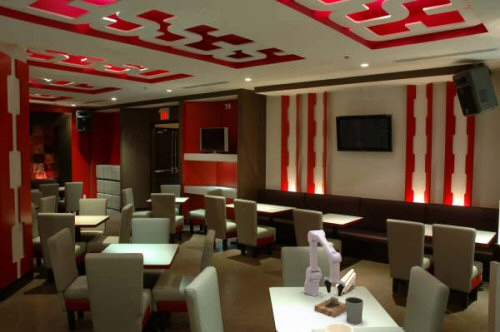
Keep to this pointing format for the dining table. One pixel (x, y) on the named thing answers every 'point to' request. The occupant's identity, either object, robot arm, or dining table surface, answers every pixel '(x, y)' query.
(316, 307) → the oak well block
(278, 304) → the dining table surface
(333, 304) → the steel bracket
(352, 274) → the shelf bracket
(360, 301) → the gray cup
